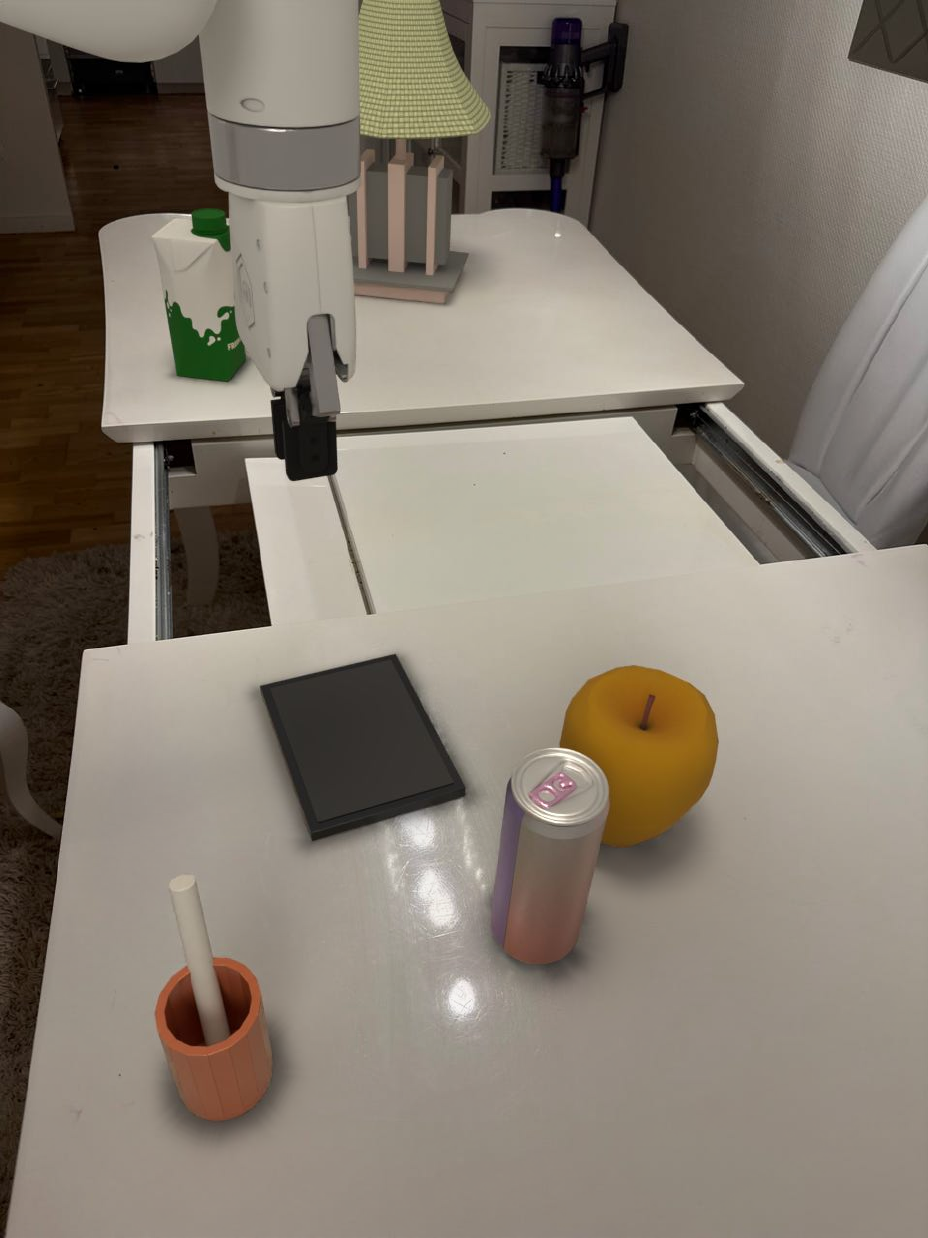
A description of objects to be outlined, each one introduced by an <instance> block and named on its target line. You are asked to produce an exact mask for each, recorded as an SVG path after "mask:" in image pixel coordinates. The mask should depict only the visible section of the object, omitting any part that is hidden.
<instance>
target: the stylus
mask: <svg viewBox="0 0 928 1238" xmlns="http://www.w3.org/2000/svg"><path fill="white" fill-rule="evenodd" d="M168 890H169V895H170V899H171V903H172V907H173V913H174V916H175V920H176V923H177V928H178V933H179V936H180V941H181V945H182V949H183V953H184V954H183V955H184V958H185V963H186V966H187V967H188V969H189V971H190V972H191V984H192V988H193V992H194V996H195V1001H196V1005H197V1009H198V1013H199V1018H200V1022H201V1026H202V1030H203V1034H204V1039H205V1043H206V1046H207V1047H208V1046H211V1045H214V1044H216V1043H219V1042H222V1041H225V1040H226V1039H228V1038H229V1037H230V1036H231V1035H230V1031H229V1026H228V1022H227V1017H226V1013H225V1008H224V1004H223V999H222V995H221V990H220V986H219V981H218V977H217V974H216V971H215V969H214V967H213V962H214V959H213V957H214V953H213V951H212V946H211V941H210V937H209V931H208V928H207V923H206V919H205V915H204V909H203V905H202V901H201V896H200V892H199V887H198V882H197V878H196V877H195V875H192V874H188V873H185V874H179V875H177V876H176V877H174V878H172V879H171V880H170V881H169V883H168Z"/></svg>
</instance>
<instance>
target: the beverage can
mask: <svg viewBox="0 0 928 1238" xmlns="http://www.w3.org/2000/svg"><path fill="white" fill-rule="evenodd" d="M609 805H610V801H609V785H608V781H607V778H606V776H605V774H604V773H603V771H602V770H601V768H600V767H599V766H598V765H597V764H596V763H595V762H594V761H593V760H591V759H590V758H589V757H587V756H585V755H583V754H581V753H579V752H577V751H574V750H570V749H566V748H560V747H558V746H557V747H556V746H555V747H551V746H550V747H543V748H539V749H535V750H533V751H531V752H529V753H527V754H525V755H524V756H523V757H522V758H520V759H519V760H518V761H517V763H516V764H515V766H514V768H513V770H512V772H511V776H510V778H509V779H508V781H507V784H506V788H505V796H504V805H503V815H502V821H501V830H500V837H499V846H498V854H497V860H496V870H495V878H494V886H493V895H492V903H491V910H490V911H491V912H490V928H491V932H492V935H493V937H494V940H495V941H496V942H497V944H498V945H499V946H500V948H501V949H502V950H503V951H504V952H505V953H506V954H507V955H509V956H510V957H512V958H513V959H516V960H517V961H520V962H523V963H525V964H526V963H527V964H531V965H545V964H546V965H547V964H551V963H554V962H557V961H559V960H562V959H563V958H565V957H566V956H567V955H569V953H570V952H571V951H572V950H574V948H575V946H576V944H577V943H578V940H579V938H580V937H579V936H580V932H581V928H582V924H583V920H584V917H585V916H584V915H585V911H586V908H587V903H588V899H589V895H590V891H591V887H592V882H593V878H594V874H595V869H596V865H597V861H598V857H599V853H600V850H601V849H600V848H601V845H602V843H601V841H602V837H603V832H604V828H605V824H606V820H607V816H608V811H609Z"/></svg>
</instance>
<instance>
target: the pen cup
mask: <svg viewBox="0 0 928 1238" xmlns="http://www.w3.org/2000/svg"><path fill="white" fill-rule="evenodd" d="M213 959H214V962H213V967H214V969H215V971H216V974H217V977H218V981H219V986H220V990H221V995H222V999H223V1004H224V1008H225V1013H226V1017H227V1022H228V1026H229V1031H230V1035H231V1036H230V1037H229V1038H228V1039H226V1040H225V1041H222V1042H219V1043H216V1044H214V1045H211V1046H208V1047H207V1046H206V1043H205V1039H204V1034H203V1030H202V1026H201V1022H200V1018H199V1013H198V1009H197V1005H196V1001H195V996H194V992H193V988H192V984H191V972H190V971H189V969H188V967H187V965H186V966H184V967H183V968H181V969H179V970H178V971H177V972H176V973H174V974H173V975H172V976H171V977H170V978H169V980H168V982H167V983H166V984H165V985H164V986H163V988H162V990H161V991H160V992H159V995H158V998H157V1002H156V1005H155V1010H154V1019H155V1025H156V1032H157V1034H158V1037H159V1040H160V1043H161V1046H162V1049H163V1052H164V1056H165V1058H166V1061H167V1064H168V1067H169V1069H170V1073H171V1076H172V1079H173V1081H174V1084H175V1088H176V1090H177V1093H178V1095H179V1097H180V1099H181V1101H182V1102H183V1104H184V1106H185V1107H186V1108H187V1109H188V1111H190V1112H191V1113H192V1114H193V1115H195V1116H197V1118H198V1117H199V1118H201V1119H203V1120H207V1121H214V1122H218V1121H219V1122H220V1121H221V1122H222V1121H227V1120H232V1119H235V1118H237V1117H241V1116H243V1114H245V1113H247V1112H249V1111H250V1110H252V1108H254V1107H255V1105H257V1104H258V1103H259V1101H260V1100H261V1099H262V1098H263V1096H264V1095H265V1093H266V1091H267V1090H268V1088H269V1086H270V1083H271V1080H272V1076H273V1070H274V1064H273V1063H274V1062H273V1061H274V1060H273V1059H274V1058H273V1052H272V1047H271V1041H270V1036H269V1030H268V1024H267V1019H266V1014H265V1008H264V1001H263V997H262V993H261V989H260V985H259V982H258V978H257V977H256V976H255V974H254V973H253V972H252V971H251V970H250V969H249V967H248V966H247V965H245V964H244V963H241V962H239V961H237V960H234V959H232V958H230V957H229V958H228V957H215V956H213Z"/></svg>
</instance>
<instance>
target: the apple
mask: <svg viewBox="0 0 928 1238" xmlns="http://www.w3.org/2000/svg"><path fill="white" fill-rule="evenodd" d="M719 744H720V739H719V732H718V727H717V719H716V714H715V712H714V710H713V708H712V706H711V704H710V702H709V701H708V699H707V696H706V695H705V694H704V693H703V692H702V691H701V690H699V689H698V688H697V687H696V686H695V685H693V684H692V683H690V682H689V681H687V680H684V679H682V678H680V677H678V676H676V675H673V674H671V673H669V672H666V671H664V670H661V669H657V668H652V667H645V666H641V665H636V664H633V665H632V664H631V665H625V666H617V667H614V668H612V669H610V670H607V671H605V672H603V673H600V674H598V675H596V676H592V677H590V678H588V679H586V681H585V682H584V684H583V685H582V686H581V687H580V688H579V690H578V691H577V692H576V693H575V694H574V695H573V696H572V698H571V700H570V702H569V704H568V706H567V708H566V710H565V714H564V720H563V724H562V730H561V733H560V739H559V748H566V749H570V750H574V751H577V752H579V753H581V754H583V755H585V756H587V757H589V758H590V759H591V760H593V761H594V762H595V763H596V764H597V765H598V766H599V767H600V768H601V770H602V771H603V773H604V774H605V776H606V778H607V781H608V785H609V801H610V805H609V811H608V816H607V820H606V824H605V828H604V832H603V837H602V841H601V845H606V846H609V847H613V848H616V849H620V848H630V847H632V846H635V845H638V844H640V843H643V842H646V841H648V840H651V839H654V838H656V837H658V836H660V835H661V834H663V833H665V832H666V831H667V830H669V829H670V828H671V827H673V826H675V825H676V824H677V823H678V822H679V821H680V820H682V818H683V817H684V816H685V815H686V814H688V813H689V811H690V810H691V809H692V808H693V807H694V806H695V805H696V804H697V803H698V802H700V800H701V799H702V797H703V796H704V794H705V792H706V791H707V790H708V788H709V786H710V783H711V781H712V778H713V776H714V771H715V767H716V765H717V764H716V763H717V760H718V759H717V758H718V751H719Z"/></svg>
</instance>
